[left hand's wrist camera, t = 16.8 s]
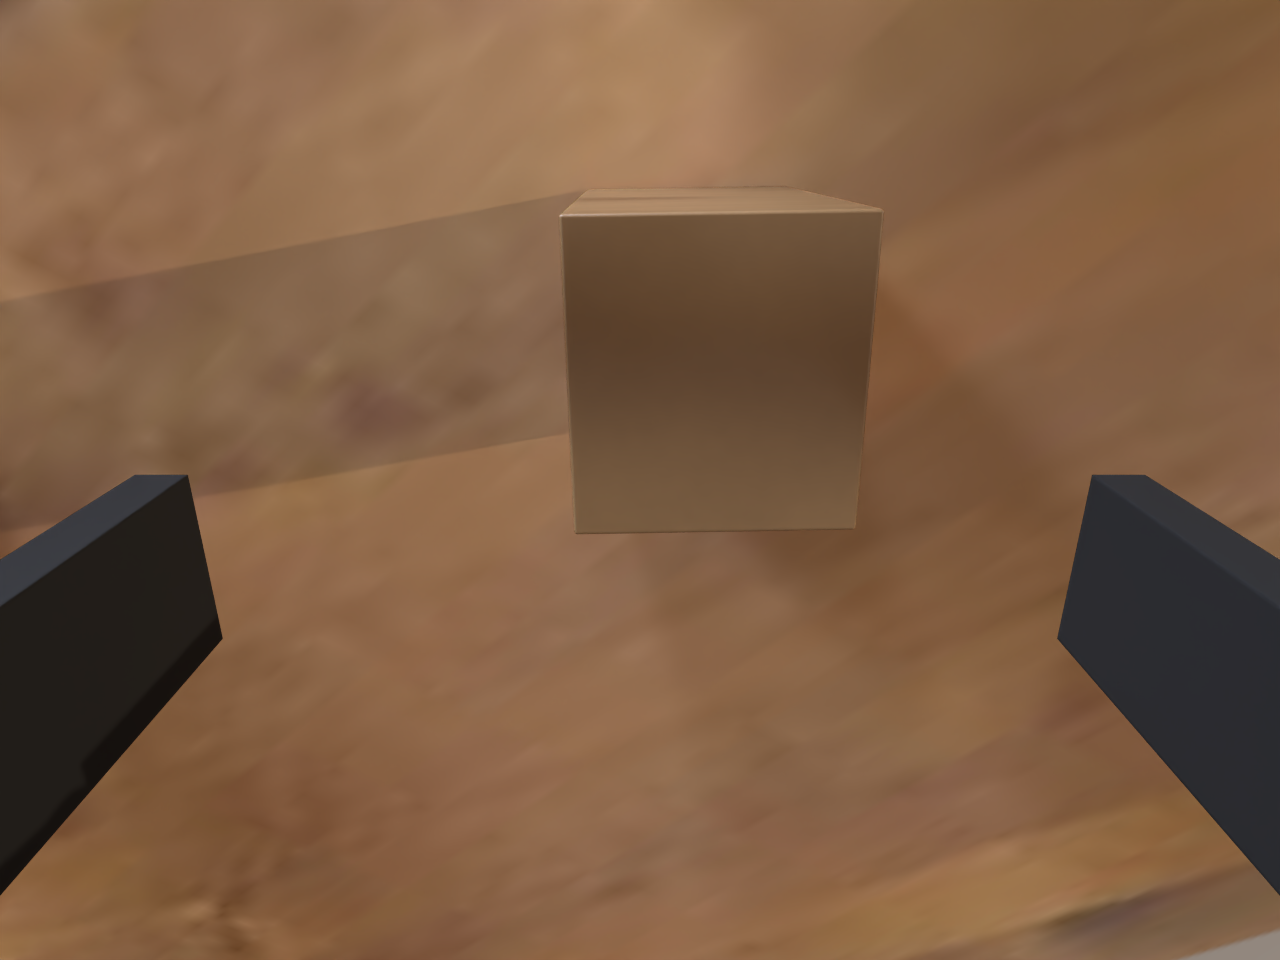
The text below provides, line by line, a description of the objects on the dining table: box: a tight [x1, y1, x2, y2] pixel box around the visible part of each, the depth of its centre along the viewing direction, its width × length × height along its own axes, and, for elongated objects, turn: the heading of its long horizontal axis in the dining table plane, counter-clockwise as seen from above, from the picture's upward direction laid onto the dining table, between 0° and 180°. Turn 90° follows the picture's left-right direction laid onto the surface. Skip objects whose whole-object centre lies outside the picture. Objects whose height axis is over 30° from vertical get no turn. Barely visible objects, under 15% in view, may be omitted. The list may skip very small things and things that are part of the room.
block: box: [559, 186, 884, 534], centre depth 21 cm, size 6×6×10 cm
